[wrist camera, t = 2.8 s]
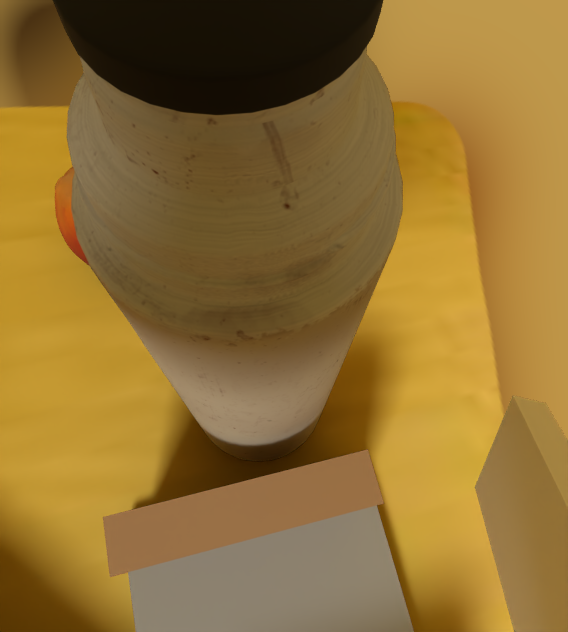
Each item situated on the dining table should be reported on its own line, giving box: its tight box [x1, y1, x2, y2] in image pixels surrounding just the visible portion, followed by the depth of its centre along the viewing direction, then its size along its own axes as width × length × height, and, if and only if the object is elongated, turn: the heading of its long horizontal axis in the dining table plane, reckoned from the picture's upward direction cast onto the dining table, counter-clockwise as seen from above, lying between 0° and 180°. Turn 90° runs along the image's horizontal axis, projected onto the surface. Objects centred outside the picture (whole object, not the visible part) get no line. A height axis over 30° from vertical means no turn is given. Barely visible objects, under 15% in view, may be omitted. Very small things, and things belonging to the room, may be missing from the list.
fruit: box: [55, 167, 90, 266], centre depth 35 cm, size 8×8×8 cm
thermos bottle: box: [53, 0, 403, 461], centre depth 20 cm, size 8×8×28 cm
